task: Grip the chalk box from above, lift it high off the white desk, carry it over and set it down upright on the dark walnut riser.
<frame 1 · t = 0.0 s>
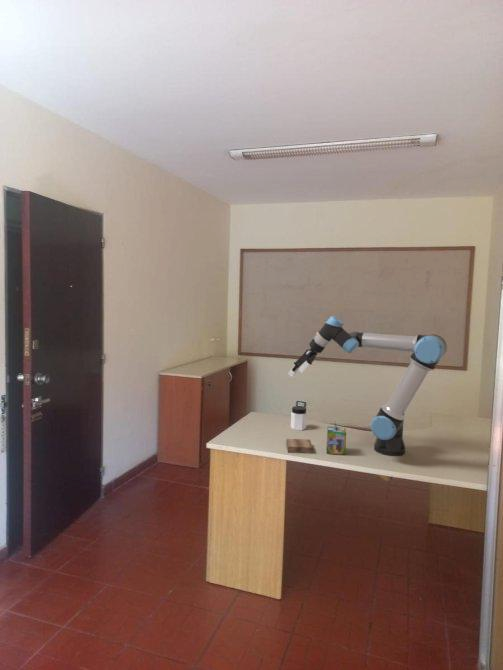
hand: (295, 373, 240), 36 cm above the table, tool tilted 35°, fingers open, 13 cm apart
walnut riser: (299, 448, 231), on the table
chalk box: (335, 452, 229), on the table
jar: (298, 428, 266), on the table
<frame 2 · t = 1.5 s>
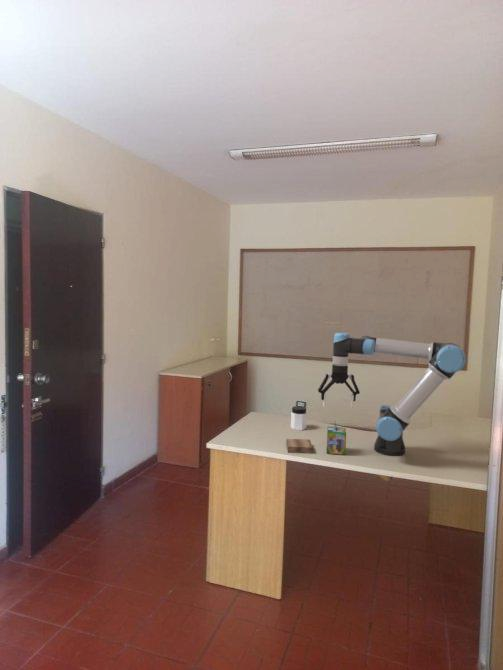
hand: (337, 407, 227), 23 cm above the table, tool pointing down, fingers open, 13 cm apart
nothing on the table moved.
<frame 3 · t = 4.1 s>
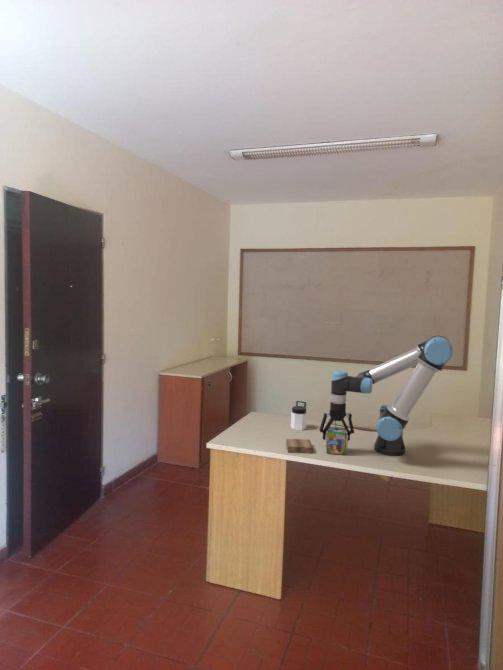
hand: (335, 446, 228), 3 cm above the table, tool pointing down, fingers closed on chalk box, 9 cm apart
chalk box: (335, 451, 229), on the table, touching gripper
everything else where it was.
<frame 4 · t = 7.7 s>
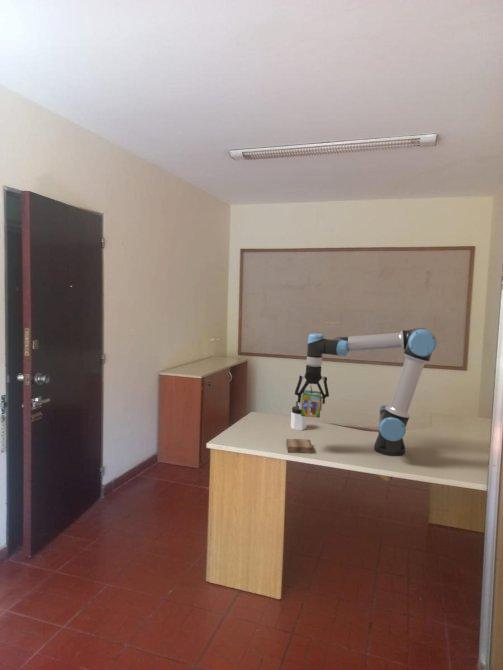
hand: (310, 409, 228), 20 cm above the table, tool pointing down, fingers closed on chalk box, 9 cm apart
chalk box: (310, 415, 229), point 18 cm above the table, touching gripper
everything else where it was.
when the fingers open (7 cm above the table, at t = 11.4 s): chalk box drops 1 cm, resting on walnut riser.
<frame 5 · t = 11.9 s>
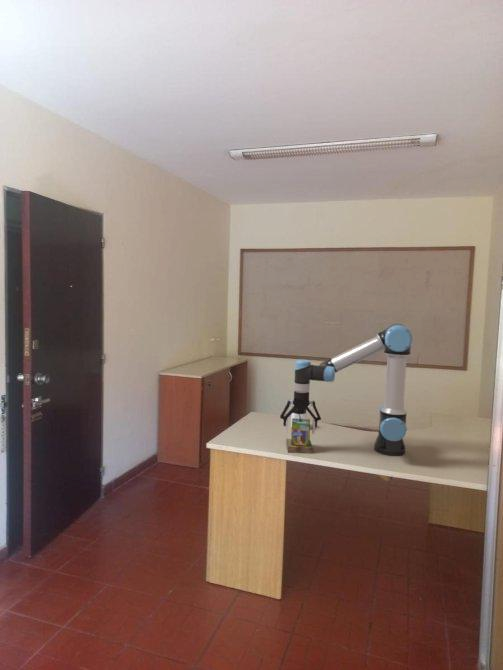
hand: (299, 432, 230), 8 cm above the table, tool pointing down, fingers open, 13 cm apart
chalk box: (300, 443, 230), point 3 cm above the table, touching walnut riser
everything else where it was.
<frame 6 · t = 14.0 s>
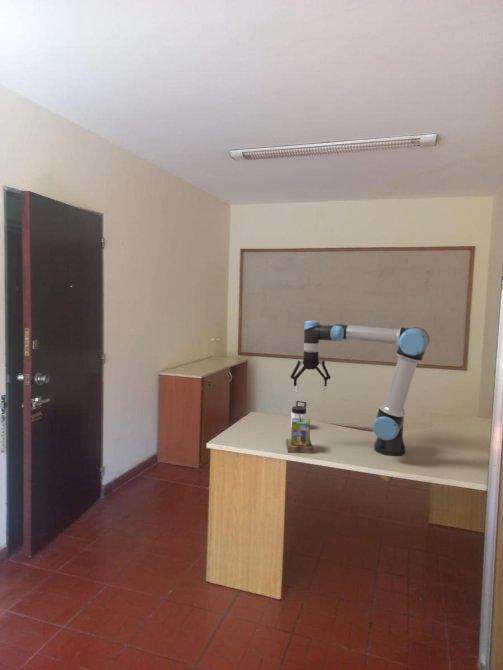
hand: (309, 392, 234), 28 cm above the table, tool pointing down, fingers open, 13 cm apart
nothing on the table moved.
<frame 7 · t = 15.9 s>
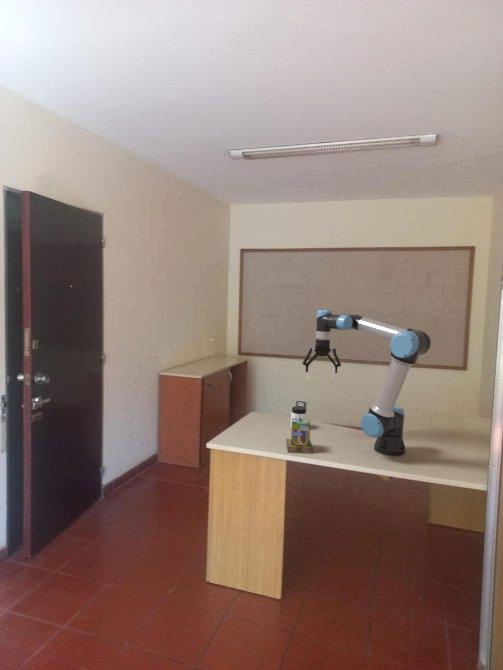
hand: (320, 378, 245), 33 cm above the table, tool pointing down, fingers open, 13 cm apart
nothing on the table moved.
at the end: chalk box 0.4 cm off-centre on the walnut riser, point 2.8 cm above the walnut riser's base; chalk box tilted 0°; the gripper is holding nothing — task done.
